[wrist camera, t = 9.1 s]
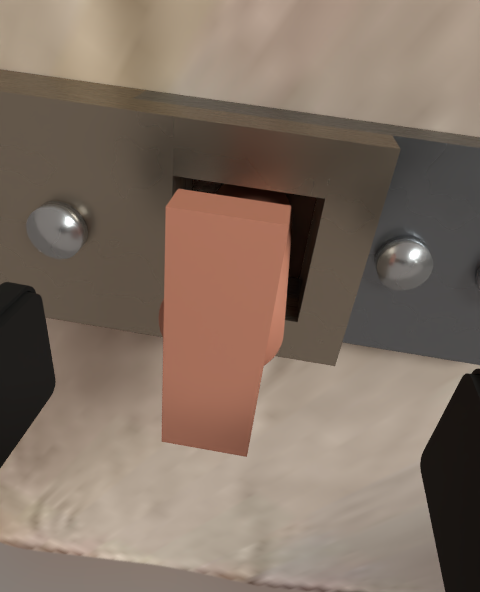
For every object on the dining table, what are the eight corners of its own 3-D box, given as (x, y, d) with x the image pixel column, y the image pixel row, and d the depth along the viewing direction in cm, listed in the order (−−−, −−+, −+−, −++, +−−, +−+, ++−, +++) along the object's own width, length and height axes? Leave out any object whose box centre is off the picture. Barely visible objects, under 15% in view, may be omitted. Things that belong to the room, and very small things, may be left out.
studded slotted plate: (604, 155, 14) (680, 195, 11) (498, 345, 19) (533, 410, 16) (-53, 62, 16) (-139, 76, 13) (-7, 263, 20) (-62, 309, 17)
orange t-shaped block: (309, 129, 15) (310, 228, 9) (277, 299, 19) (261, 459, 12) (216, 115, 15) (145, 203, 9) (203, 287, 19) (147, 439, 13)
